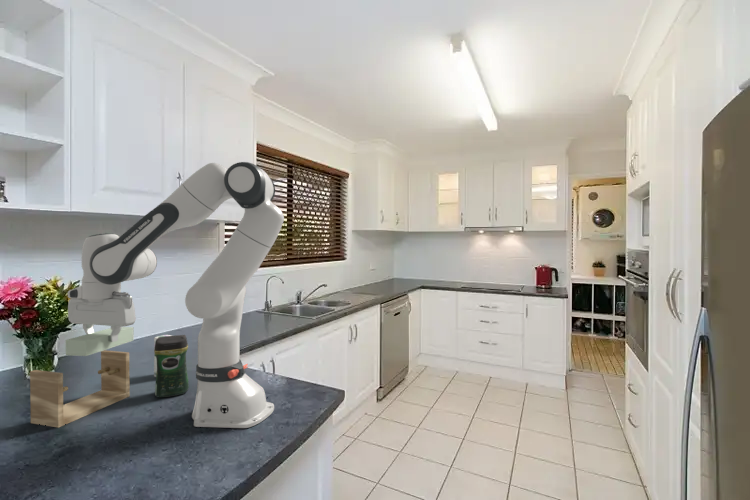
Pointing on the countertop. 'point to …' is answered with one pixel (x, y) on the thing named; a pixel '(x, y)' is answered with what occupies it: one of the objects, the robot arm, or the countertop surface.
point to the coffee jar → (171, 366)
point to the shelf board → (97, 342)
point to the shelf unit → (50, 398)
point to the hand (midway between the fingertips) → (102, 340)
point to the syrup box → (155, 355)
